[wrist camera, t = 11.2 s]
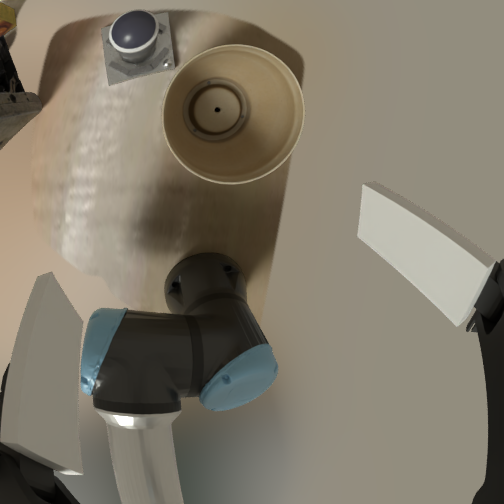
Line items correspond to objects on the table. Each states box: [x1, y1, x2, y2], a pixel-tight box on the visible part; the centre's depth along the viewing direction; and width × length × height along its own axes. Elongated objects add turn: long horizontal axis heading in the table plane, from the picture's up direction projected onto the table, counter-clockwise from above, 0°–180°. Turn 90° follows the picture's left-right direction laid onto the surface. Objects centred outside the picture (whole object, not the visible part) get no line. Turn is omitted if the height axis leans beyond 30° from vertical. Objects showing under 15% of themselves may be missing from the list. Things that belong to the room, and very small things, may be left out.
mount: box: [101, 12, 175, 86], centre depth 24 cm, size 9×9×2 cm
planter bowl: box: [161, 44, 305, 184], centre depth 30 cm, size 16×16×11 cm
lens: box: [109, 10, 159, 63], centre depth 21 cm, size 5×5×10 cm
